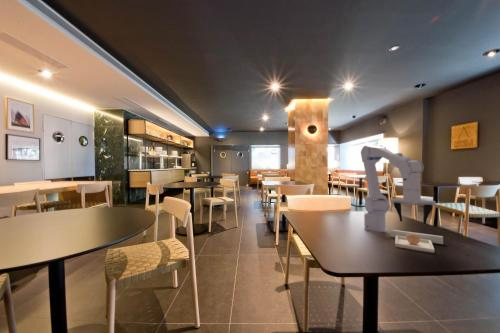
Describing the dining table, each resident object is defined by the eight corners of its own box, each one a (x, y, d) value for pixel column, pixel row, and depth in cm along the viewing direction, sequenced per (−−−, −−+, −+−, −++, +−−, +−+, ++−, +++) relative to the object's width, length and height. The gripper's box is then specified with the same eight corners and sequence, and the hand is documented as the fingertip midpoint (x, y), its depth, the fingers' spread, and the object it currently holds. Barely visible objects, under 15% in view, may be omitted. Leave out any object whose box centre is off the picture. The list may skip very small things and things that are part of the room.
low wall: (390, 236, 96) (390, 230, 96) (390, 235, 97) (390, 229, 97) (443, 244, 85) (443, 237, 85) (442, 243, 86) (442, 236, 86)
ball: (406, 244, 85) (406, 234, 85) (406, 241, 88) (406, 231, 88) (420, 246, 82) (420, 235, 82) (419, 243, 86) (419, 232, 86)
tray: (395, 246, 84) (395, 243, 84) (395, 238, 94) (395, 235, 94) (434, 253, 77) (434, 249, 77) (430, 243, 87) (430, 240, 87)
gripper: (389, 189, 87) (390, 222, 86) (436, 191, 78) (437, 227, 78) (390, 188, 92) (391, 218, 92) (433, 189, 84) (434, 222, 84)
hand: (412, 222), depth 85 cm, fingers open, 7 cm apart
